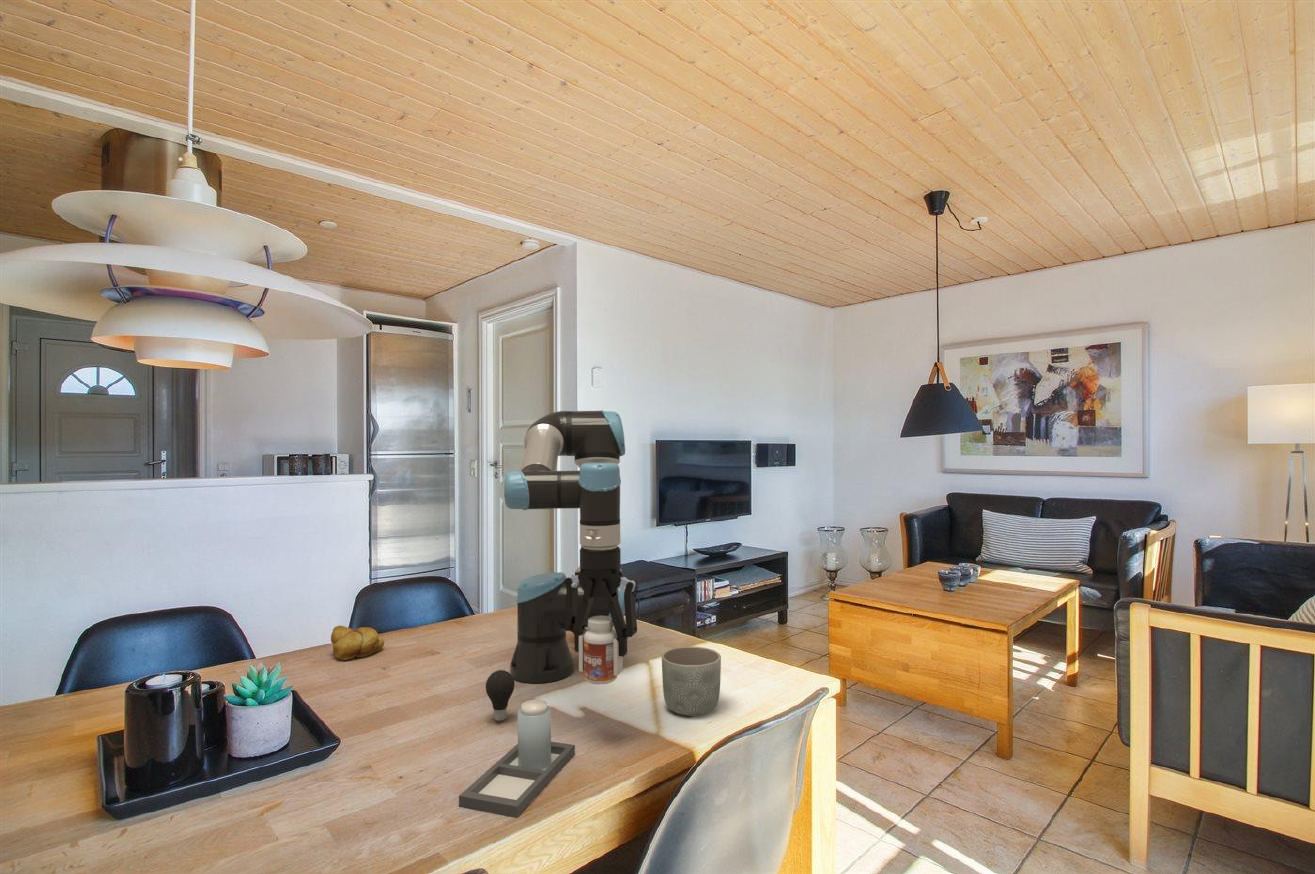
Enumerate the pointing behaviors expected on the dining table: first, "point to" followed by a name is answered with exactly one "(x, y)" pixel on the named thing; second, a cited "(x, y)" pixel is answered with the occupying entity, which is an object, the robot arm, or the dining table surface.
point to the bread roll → (355, 642)
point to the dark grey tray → (513, 782)
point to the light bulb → (500, 692)
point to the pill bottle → (599, 650)
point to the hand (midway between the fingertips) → (600, 670)
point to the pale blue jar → (534, 735)
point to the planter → (691, 680)
